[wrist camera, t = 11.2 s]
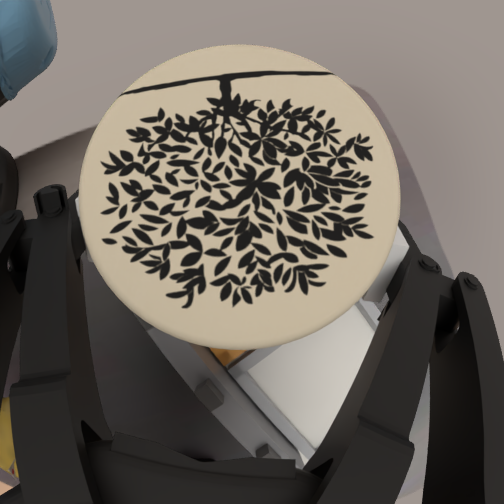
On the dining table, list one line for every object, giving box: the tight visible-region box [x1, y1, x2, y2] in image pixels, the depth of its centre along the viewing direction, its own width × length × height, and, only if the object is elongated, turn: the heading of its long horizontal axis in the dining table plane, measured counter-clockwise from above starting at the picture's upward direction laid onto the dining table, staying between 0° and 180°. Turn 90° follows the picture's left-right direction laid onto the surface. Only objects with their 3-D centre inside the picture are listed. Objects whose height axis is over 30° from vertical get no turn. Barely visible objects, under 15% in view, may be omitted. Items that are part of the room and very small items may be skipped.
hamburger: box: [0, 397, 19, 480], centre depth 16 cm, size 8×7×12 cm
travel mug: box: [79, 45, 400, 350], centre depth 15 cm, size 8×8×18 cm
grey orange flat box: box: [132, 297, 381, 469], centre depth 21 cm, size 25×15×7 cm, turn 37°
